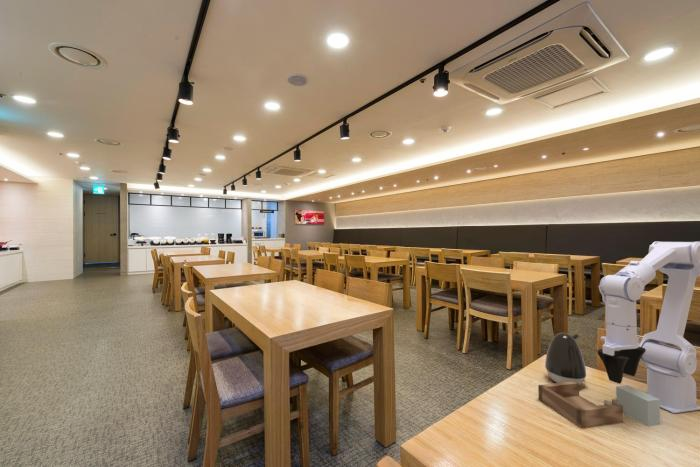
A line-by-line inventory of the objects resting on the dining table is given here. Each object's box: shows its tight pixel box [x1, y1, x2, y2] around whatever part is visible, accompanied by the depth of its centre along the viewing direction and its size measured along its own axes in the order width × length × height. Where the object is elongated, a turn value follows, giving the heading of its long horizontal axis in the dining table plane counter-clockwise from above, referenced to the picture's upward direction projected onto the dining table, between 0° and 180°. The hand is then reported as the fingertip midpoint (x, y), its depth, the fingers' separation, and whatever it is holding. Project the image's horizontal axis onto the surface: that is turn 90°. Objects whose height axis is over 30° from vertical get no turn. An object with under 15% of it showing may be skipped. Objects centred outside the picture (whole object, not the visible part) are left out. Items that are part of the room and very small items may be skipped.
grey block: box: [615, 385, 661, 427], centre depth 74 cm, size 4×7×6 cm, turn 11°
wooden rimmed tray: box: [537, 381, 624, 429], centre depth 76 cm, size 12×12×5 cm
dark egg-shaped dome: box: [544, 332, 587, 386], centre depth 91 cm, size 10×10×15 cm
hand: (622, 378), depth 74 cm, fingers open, 7 cm apart
